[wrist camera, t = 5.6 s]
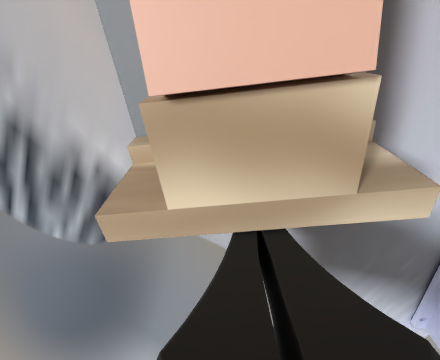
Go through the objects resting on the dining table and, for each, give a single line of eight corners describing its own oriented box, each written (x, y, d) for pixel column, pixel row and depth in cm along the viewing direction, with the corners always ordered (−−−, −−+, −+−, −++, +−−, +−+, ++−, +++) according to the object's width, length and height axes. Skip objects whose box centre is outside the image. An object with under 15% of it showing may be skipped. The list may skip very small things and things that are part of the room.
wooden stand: (350, 177, 13) (416, 248, 8) (153, 195, 14) (119, 268, 9) (373, 53, 10) (493, 62, 5) (119, 84, 11) (46, 114, 6)
